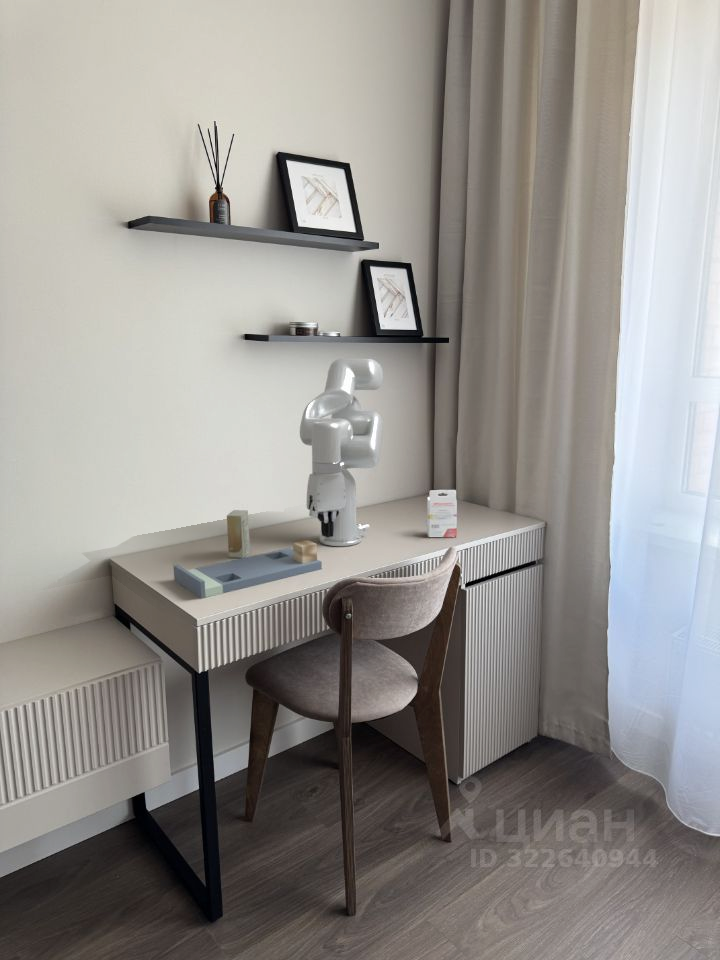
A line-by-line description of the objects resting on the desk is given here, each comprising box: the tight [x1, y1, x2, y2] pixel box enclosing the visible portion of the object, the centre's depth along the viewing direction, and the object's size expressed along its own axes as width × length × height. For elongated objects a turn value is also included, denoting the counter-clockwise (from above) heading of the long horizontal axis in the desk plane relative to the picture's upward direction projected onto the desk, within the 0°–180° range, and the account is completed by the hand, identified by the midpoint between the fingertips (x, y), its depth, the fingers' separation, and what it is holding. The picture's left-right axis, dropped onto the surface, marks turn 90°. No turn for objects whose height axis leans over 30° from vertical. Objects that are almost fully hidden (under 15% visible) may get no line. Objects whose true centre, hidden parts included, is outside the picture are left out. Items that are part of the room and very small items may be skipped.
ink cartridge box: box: [426, 489, 458, 538], centre depth 215 cm, size 9×5×15 cm, turn 91°
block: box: [292, 539, 318, 564], centre depth 188 cm, size 4×4×4 cm
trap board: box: [173, 547, 323, 599], centre depth 183 cm, size 34×16×4 cm, turn 127°
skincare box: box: [226, 509, 251, 559], centre depth 199 cm, size 6×4×12 cm
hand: (327, 535), depth 191 cm, fingers closed
